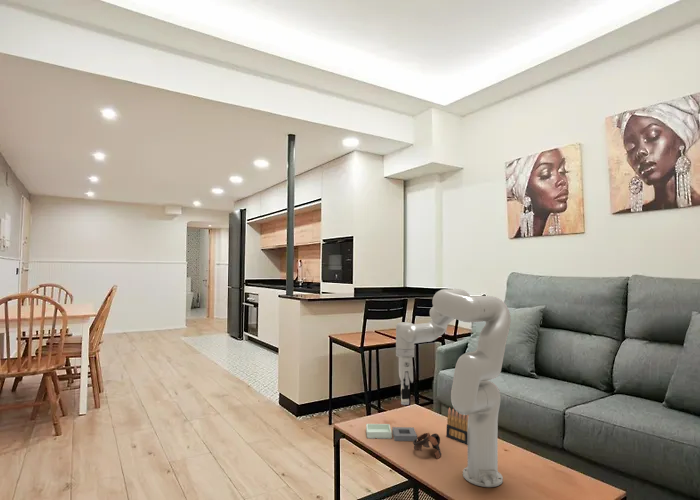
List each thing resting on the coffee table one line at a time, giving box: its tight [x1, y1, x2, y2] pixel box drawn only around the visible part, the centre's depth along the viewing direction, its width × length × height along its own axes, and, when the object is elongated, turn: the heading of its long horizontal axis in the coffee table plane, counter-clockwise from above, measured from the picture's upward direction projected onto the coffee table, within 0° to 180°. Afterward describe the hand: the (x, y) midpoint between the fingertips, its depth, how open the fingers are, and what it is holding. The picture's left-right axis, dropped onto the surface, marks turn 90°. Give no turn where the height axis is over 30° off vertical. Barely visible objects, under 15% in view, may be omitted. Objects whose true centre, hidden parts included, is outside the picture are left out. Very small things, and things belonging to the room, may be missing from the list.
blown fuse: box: [400, 380, 410, 406], centre depth 168 cm, size 3×3×9 cm
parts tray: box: [365, 423, 393, 440], centre depth 170 cm, size 9×10×2 cm
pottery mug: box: [412, 432, 442, 460], centre depth 153 cm, size 12×10×8 cm
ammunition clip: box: [445, 407, 469, 446], centre depth 165 cm, size 11×2×12 cm, turn 40°
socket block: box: [391, 426, 418, 442], centre depth 168 cm, size 9×9×2 cm
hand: (405, 396), depth 168 cm, fingers closed on blown fuse, 3 cm apart
